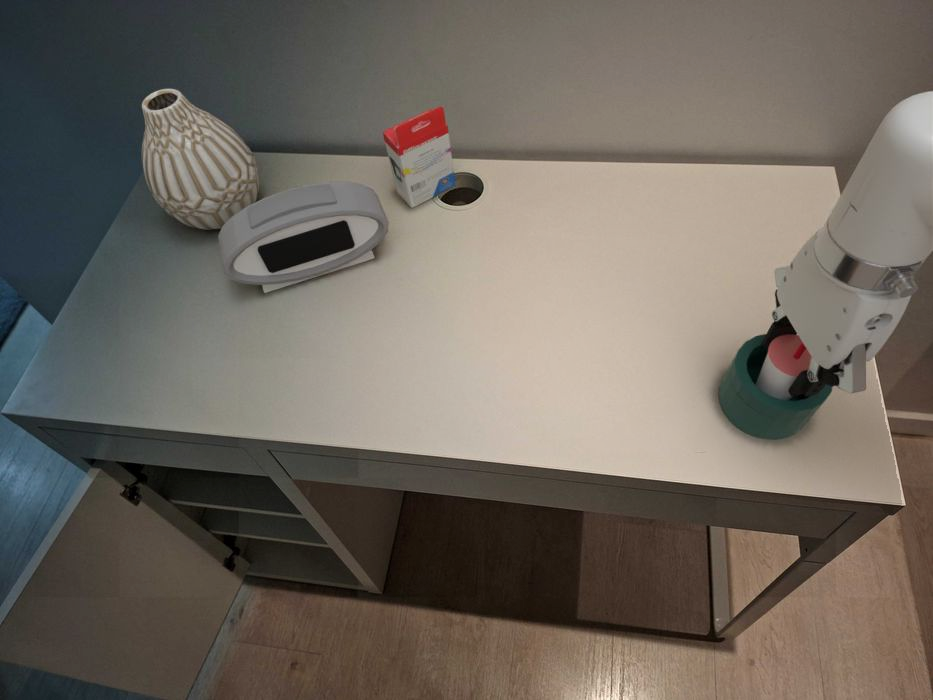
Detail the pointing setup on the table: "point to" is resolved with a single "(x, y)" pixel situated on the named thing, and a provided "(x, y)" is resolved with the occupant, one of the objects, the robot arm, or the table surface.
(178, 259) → the table surface
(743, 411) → the teal pot
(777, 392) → the cup
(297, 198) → the alarm clock
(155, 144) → the vase
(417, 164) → the ink box
